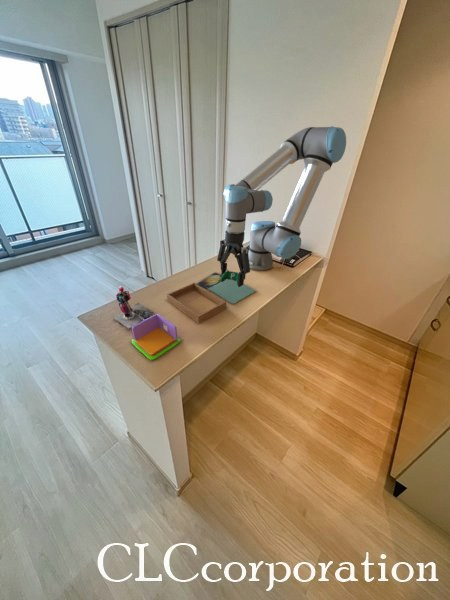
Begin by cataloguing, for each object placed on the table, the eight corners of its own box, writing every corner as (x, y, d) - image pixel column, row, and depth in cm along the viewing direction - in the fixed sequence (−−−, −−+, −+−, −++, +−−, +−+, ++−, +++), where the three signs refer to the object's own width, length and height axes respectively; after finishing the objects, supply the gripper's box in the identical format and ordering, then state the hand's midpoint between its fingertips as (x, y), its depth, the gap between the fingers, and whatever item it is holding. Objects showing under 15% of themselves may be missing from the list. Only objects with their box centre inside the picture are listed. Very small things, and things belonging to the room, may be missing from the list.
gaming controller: (241, 287, 104) (244, 274, 105) (239, 284, 100) (243, 271, 101) (221, 283, 106) (224, 270, 107) (219, 280, 103) (222, 267, 104)
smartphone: (195, 284, 110) (215, 272, 120) (195, 285, 110) (215, 273, 120) (207, 289, 107) (226, 276, 117) (207, 290, 107) (226, 277, 117)
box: (194, 288, 108) (194, 282, 106) (226, 307, 96) (226, 301, 94) (167, 300, 99) (166, 294, 97) (198, 323, 87) (198, 317, 86)
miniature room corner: (160, 325, 86) (158, 310, 82) (182, 341, 80) (180, 325, 76) (130, 342, 78) (126, 326, 74) (151, 361, 72) (148, 345, 68)
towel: (230, 278, 116) (230, 277, 116) (256, 291, 107) (256, 290, 107) (207, 289, 107) (207, 288, 107) (233, 304, 98) (233, 303, 98)
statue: (130, 332, 84) (116, 300, 74) (115, 321, 89) (100, 289, 79) (154, 314, 91) (144, 283, 81) (139, 305, 95) (127, 274, 85)
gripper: (208, 225, 96) (208, 274, 108) (250, 240, 83) (245, 294, 96) (221, 222, 100) (220, 269, 113) (263, 236, 87) (257, 288, 100)
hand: (232, 281), depth 104 cm, fingers closed on gaming controller, 10 cm apart
